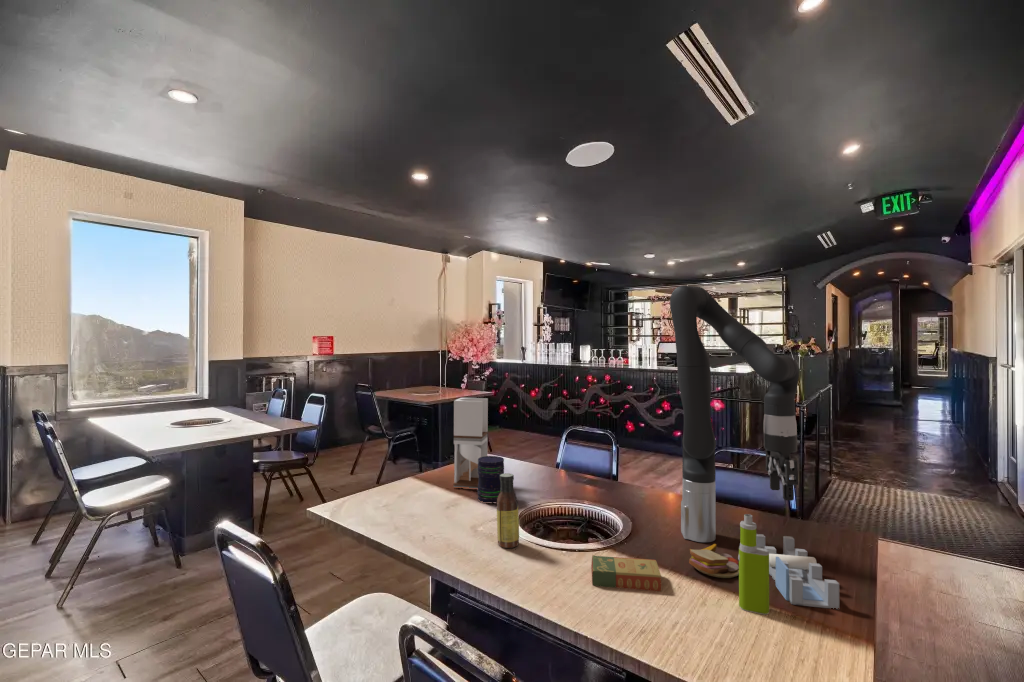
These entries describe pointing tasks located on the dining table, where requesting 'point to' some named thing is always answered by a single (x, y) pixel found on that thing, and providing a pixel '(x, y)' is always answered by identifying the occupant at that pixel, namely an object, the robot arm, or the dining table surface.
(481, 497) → the storage jar
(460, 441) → the white boxy tower
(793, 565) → the cream cylindrical rod
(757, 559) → the vape
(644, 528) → the dining table surface
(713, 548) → the toy sandwich meal
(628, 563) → the carton
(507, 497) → the sauce bottle
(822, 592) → the white peg rack
